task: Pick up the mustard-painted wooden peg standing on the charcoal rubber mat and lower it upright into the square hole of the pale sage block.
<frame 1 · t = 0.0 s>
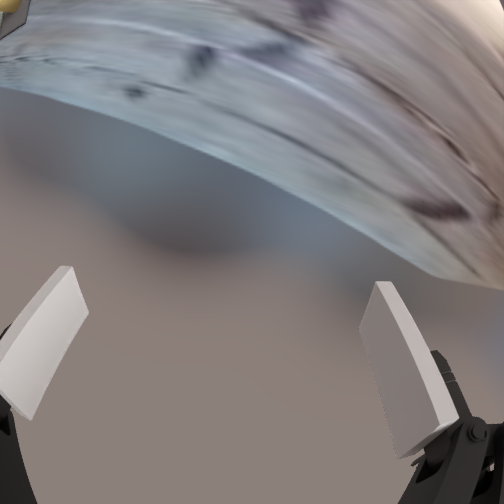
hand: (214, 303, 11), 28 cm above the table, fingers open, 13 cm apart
mat: (17, 6, 17), on the table
peg: (16, 6, 17), resting on mat
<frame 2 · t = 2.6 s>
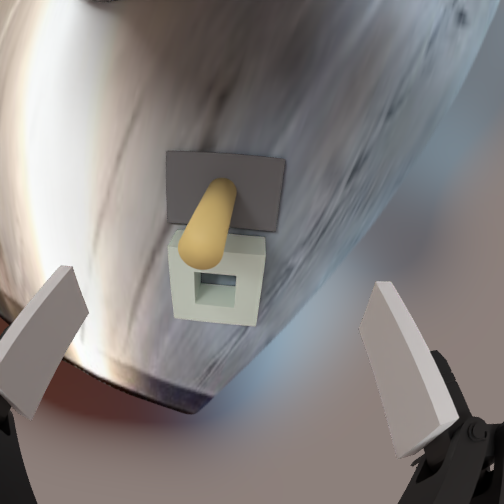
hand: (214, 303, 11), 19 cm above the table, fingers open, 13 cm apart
mat: (222, 190, 28), on the table
peg: (222, 191, 28), resting on mat
hole block: (219, 270, 34), on the table
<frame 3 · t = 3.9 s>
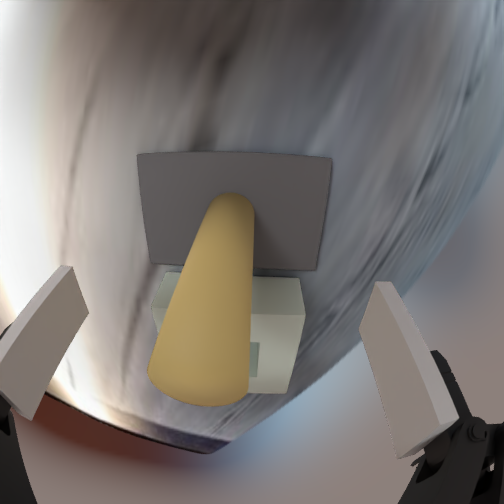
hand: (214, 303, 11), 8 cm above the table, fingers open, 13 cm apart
mat: (231, 212, 18), on the table
peg: (230, 214, 18), resting on mat
hole block: (232, 322, 23), on the table
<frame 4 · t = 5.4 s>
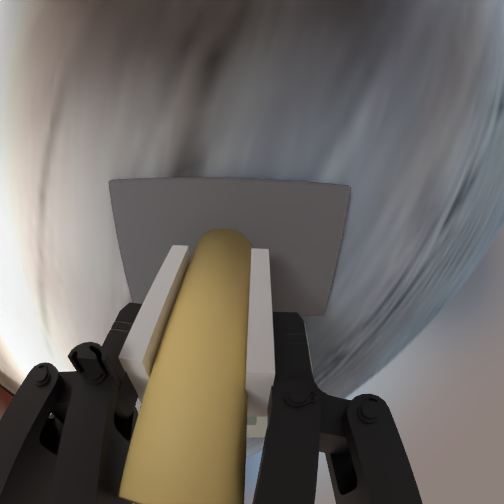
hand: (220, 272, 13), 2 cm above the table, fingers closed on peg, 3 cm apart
mat: (225, 251, 15), on the table
peg: (224, 254, 14), resting on mat, touching gripper
hole block: (228, 366, 20), on the table
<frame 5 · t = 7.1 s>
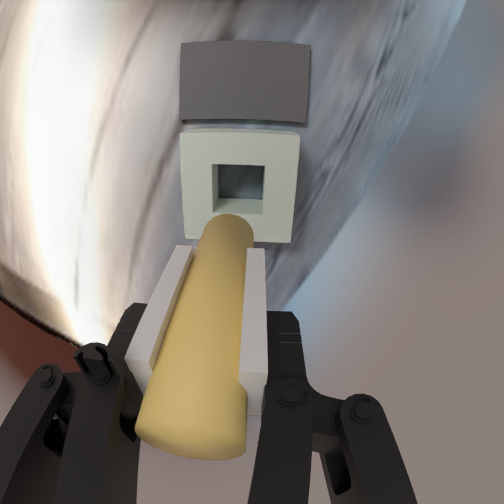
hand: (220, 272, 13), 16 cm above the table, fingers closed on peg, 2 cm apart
mat: (243, 79, 22), on the table
peg: (228, 237, 16), point 13 cm above the table, touching gripper
hole block: (240, 177, 27), on the table
when the fingers open (5 cm above the table, at t = 8.9 s): peg drops 1 cm, resting in hole block.
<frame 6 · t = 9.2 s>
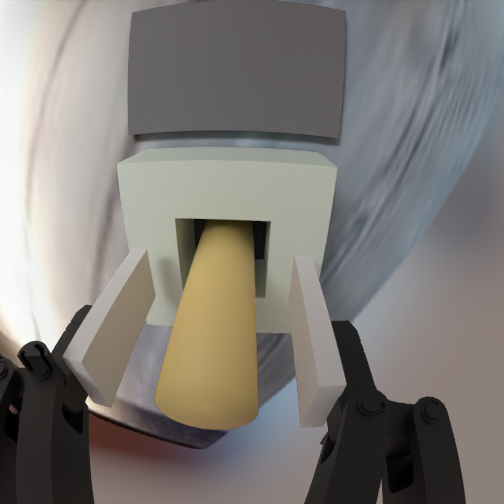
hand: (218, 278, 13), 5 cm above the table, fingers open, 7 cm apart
mat: (233, 62, 12), on the table
peg: (229, 228, 17), resting in hole block
hole block: (229, 227, 17), on the table
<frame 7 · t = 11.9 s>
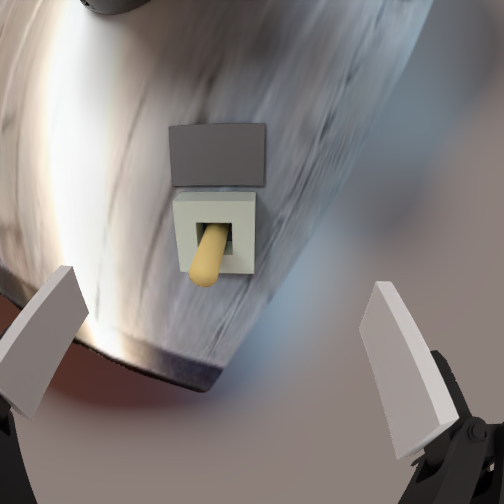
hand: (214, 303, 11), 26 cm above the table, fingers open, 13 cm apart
mat: (216, 154, 33), on the table
peg: (218, 226, 38), resting in hole block
hole block: (218, 226, 38), on the table
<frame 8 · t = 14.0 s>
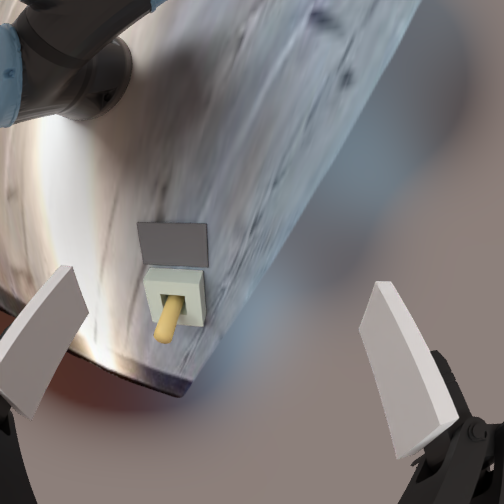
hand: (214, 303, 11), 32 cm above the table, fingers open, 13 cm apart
mat: (172, 244, 46), on the table
peg: (178, 291, 51), resting in hole block
hole block: (178, 291, 51), on the table
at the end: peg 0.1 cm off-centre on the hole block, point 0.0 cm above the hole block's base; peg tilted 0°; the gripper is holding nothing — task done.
